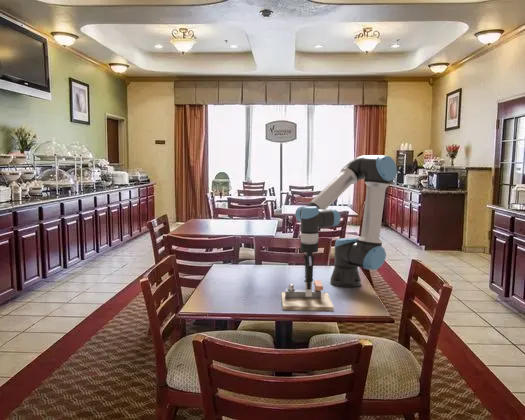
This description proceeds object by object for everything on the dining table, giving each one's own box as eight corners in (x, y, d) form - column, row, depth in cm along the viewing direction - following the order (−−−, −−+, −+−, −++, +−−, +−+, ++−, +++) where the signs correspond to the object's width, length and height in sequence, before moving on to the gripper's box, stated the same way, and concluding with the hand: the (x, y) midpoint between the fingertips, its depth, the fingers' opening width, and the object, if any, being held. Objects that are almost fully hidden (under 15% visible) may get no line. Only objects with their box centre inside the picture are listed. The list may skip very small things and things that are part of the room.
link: (285, 298, 202) (285, 291, 202) (285, 294, 207) (285, 288, 207) (321, 299, 201) (321, 292, 201) (320, 296, 206) (320, 289, 205)
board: (327, 296, 211) (327, 292, 211) (333, 310, 191) (333, 307, 191) (281, 295, 211) (281, 292, 211) (282, 309, 192) (282, 306, 191)
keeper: (320, 293, 210) (320, 280, 209) (322, 299, 201) (323, 286, 200) (313, 293, 210) (313, 280, 209) (315, 299, 201) (316, 286, 200)
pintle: (296, 295, 207) (296, 283, 206) (296, 298, 202) (297, 286, 201) (285, 295, 207) (285, 283, 206) (285, 298, 202) (286, 286, 201)
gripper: (299, 239, 205) (298, 291, 208) (301, 245, 192) (300, 300, 195) (316, 240, 205) (315, 292, 208) (319, 245, 192) (318, 300, 195)
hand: (308, 296), depth 201 cm, fingers closed
